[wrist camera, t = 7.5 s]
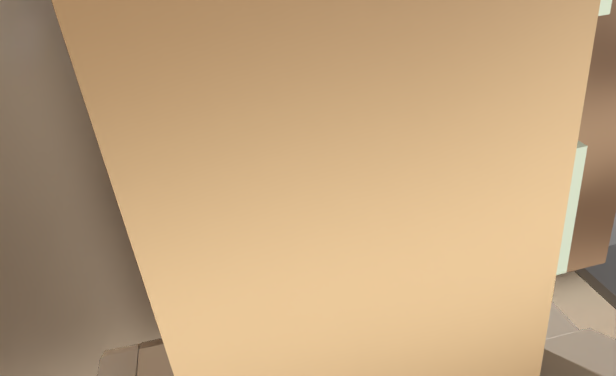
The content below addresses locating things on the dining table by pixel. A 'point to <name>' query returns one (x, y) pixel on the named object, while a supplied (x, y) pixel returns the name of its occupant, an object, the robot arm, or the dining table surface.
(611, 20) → the board
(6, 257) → the dining table surface
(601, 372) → the robot arm
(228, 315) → the wooden plank piece
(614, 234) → the tray
